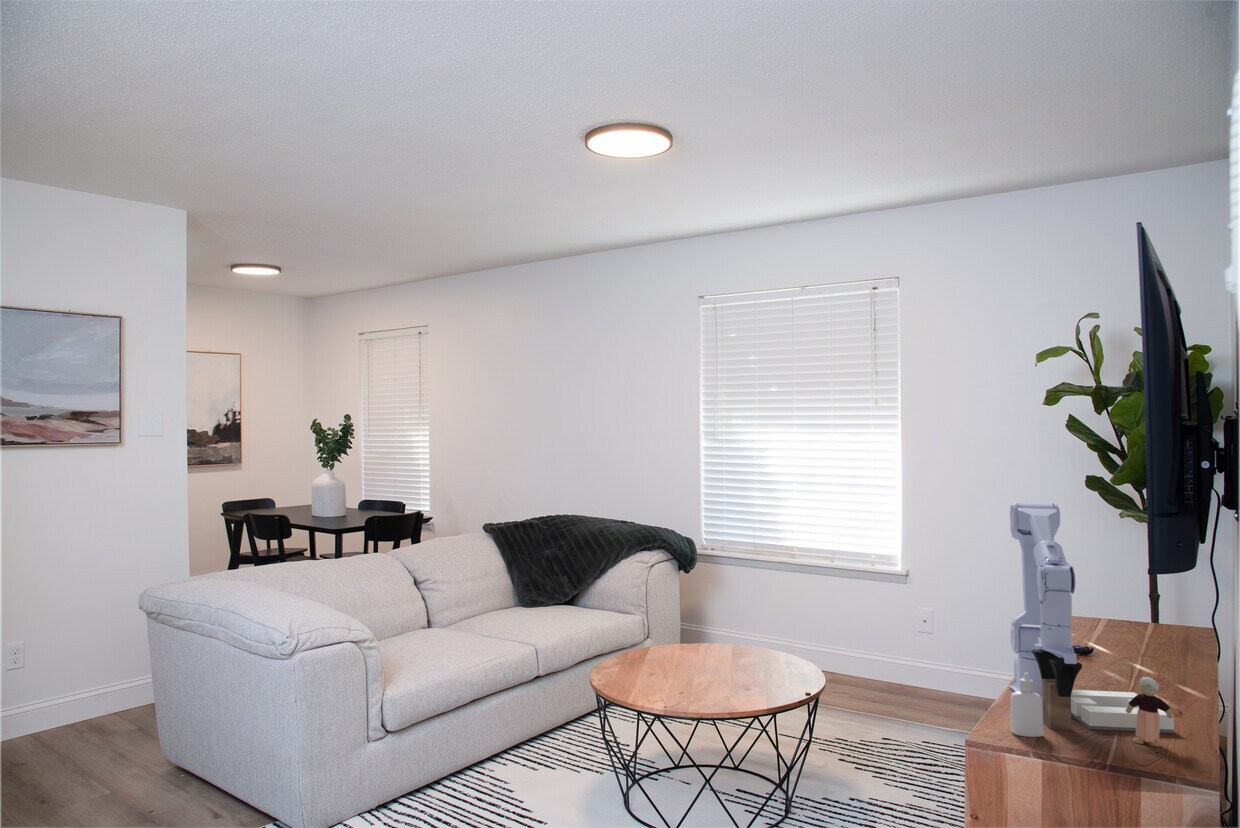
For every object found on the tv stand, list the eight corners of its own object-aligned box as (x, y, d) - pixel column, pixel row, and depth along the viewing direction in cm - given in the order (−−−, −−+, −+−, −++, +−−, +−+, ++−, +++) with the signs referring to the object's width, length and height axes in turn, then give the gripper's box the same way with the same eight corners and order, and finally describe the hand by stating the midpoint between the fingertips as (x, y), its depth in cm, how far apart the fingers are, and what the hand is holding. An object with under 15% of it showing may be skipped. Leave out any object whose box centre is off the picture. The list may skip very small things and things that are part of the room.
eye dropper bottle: (1014, 728, 170) (1014, 668, 171) (1044, 734, 167) (1044, 673, 167) (1008, 733, 167) (1008, 672, 167) (1039, 740, 163) (1039, 678, 164)
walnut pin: (1042, 722, 174) (1042, 678, 174) (1062, 723, 174) (1062, 679, 174) (1050, 729, 170) (1050, 684, 170) (1071, 730, 170) (1070, 684, 170)
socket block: (1057, 705, 186) (1057, 689, 186) (1133, 708, 184) (1133, 692, 185) (1089, 729, 170) (1089, 711, 170) (1173, 733, 169) (1173, 715, 169)
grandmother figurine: (1128, 743, 162) (1128, 677, 163) (1124, 737, 166) (1124, 672, 166) (1175, 749, 159) (1174, 681, 160) (1170, 742, 163) (1169, 676, 163)
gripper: (1022, 616, 180) (1022, 680, 180) (1049, 630, 166) (1050, 700, 165) (1057, 617, 180) (1057, 681, 179) (1087, 632, 165) (1088, 702, 165)
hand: (1056, 691), depth 172 cm, fingers open, 7 cm apart
